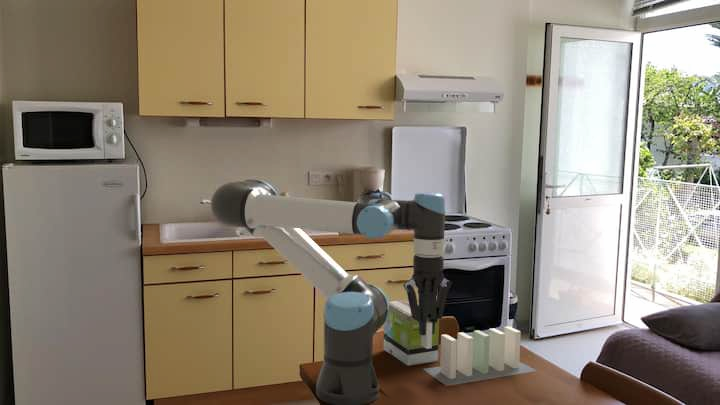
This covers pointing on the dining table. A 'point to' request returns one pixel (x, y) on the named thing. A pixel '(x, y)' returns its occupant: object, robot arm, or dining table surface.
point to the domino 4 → (512, 347)
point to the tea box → (407, 336)
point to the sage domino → (481, 351)
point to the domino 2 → (464, 353)
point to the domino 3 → (496, 349)
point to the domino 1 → (448, 356)
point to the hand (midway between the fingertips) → (426, 346)
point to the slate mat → (478, 374)
